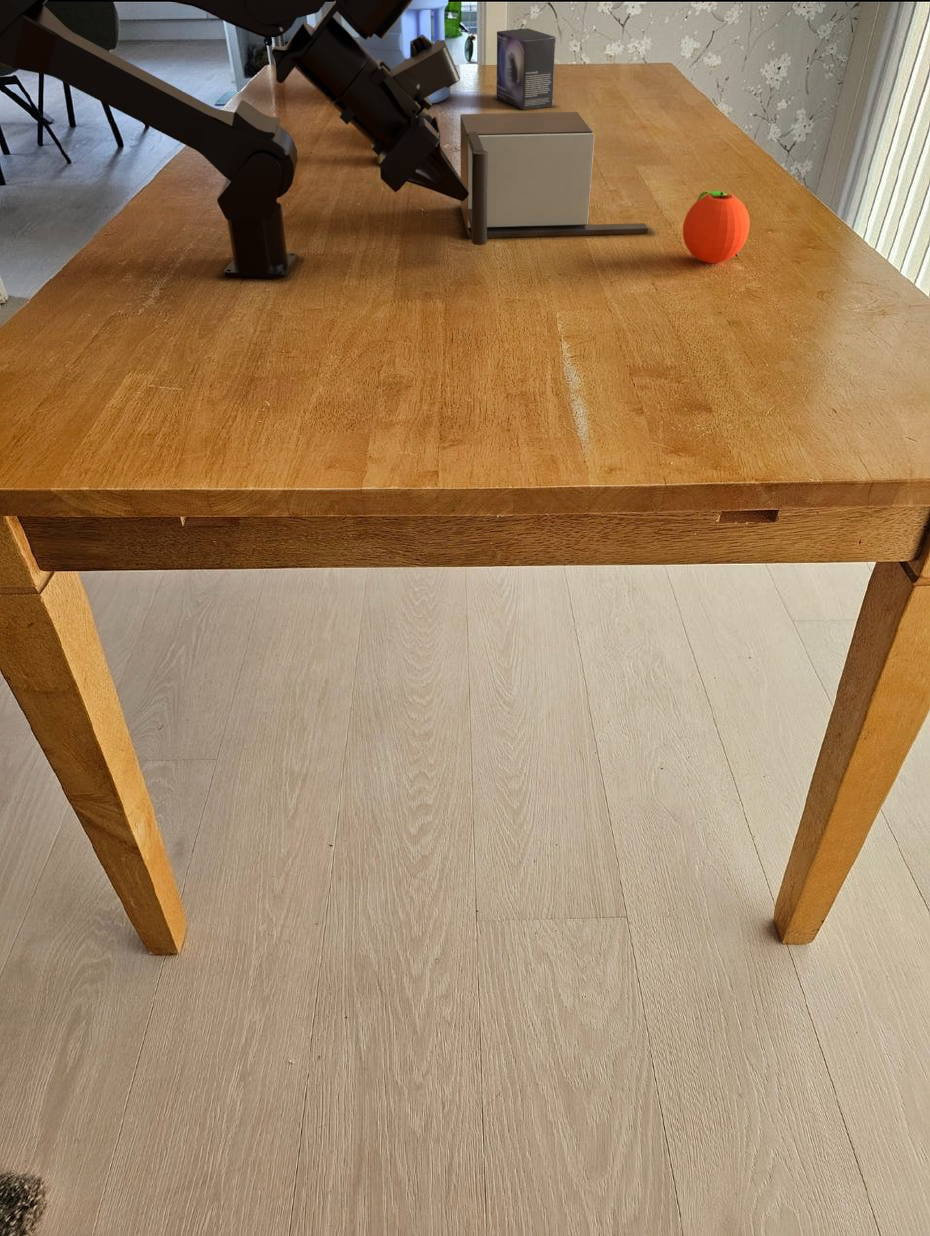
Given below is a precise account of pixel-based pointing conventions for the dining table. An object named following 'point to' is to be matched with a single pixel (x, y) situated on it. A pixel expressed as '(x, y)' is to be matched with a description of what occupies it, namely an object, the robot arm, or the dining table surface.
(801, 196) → the dining table surface
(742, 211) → the clementine
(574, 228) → the cabinet
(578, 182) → the sliding door
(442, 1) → the water jug
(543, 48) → the small box
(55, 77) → the robot arm
